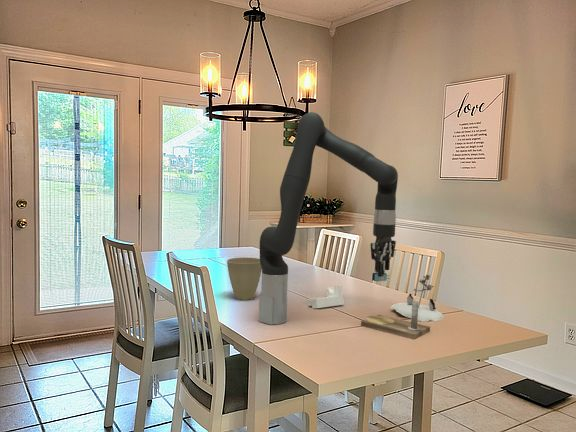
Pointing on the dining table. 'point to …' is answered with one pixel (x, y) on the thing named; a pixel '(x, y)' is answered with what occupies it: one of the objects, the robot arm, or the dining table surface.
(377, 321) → the gauge board
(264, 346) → the dining table surface
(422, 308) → the figurine
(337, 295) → the bracket
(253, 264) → the plant pot
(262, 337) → the dining table surface
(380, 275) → the push button
